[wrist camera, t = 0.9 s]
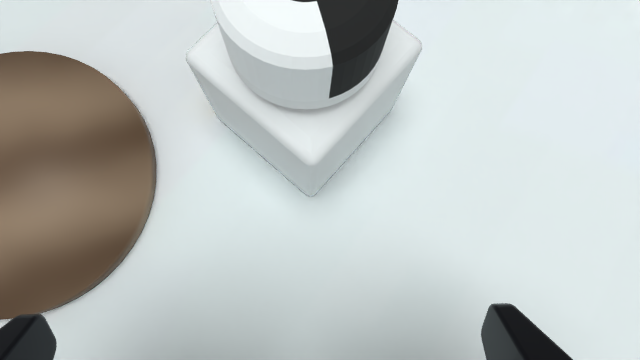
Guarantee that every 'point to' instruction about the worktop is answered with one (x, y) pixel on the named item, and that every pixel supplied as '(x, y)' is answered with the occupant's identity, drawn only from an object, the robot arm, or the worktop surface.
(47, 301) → the walnut coaster
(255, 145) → the medicine bottle
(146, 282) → the worktop surface
